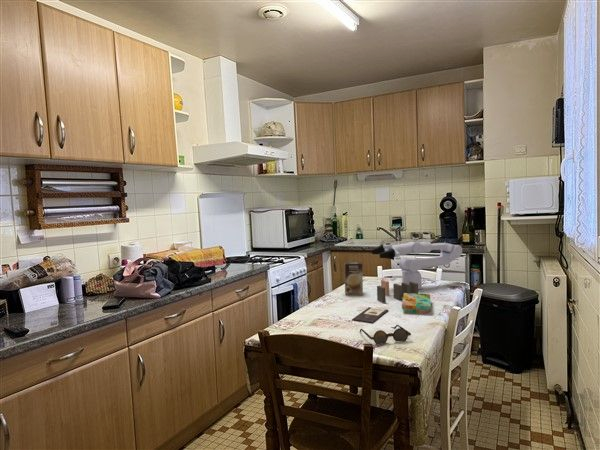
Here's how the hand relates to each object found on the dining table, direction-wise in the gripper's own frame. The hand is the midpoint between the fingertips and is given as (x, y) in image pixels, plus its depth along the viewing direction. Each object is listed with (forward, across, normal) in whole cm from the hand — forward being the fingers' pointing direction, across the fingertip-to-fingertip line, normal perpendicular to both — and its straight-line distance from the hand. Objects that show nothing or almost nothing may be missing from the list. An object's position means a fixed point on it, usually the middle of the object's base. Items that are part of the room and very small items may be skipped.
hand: (375, 253), depth 198 cm
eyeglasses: (+29, +54, +13) cm, 63 cm away
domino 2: (+7, +16, +18) cm, 25 cm away
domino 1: (-2, +6, +20) cm, 21 cm away
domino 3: (-2, +16, +19) cm, 25 cm away
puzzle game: (-2, +31, +18) cm, 36 cm away
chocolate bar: (+22, +32, +16) cm, 42 cm away
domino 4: (-7, +16, +19) cm, 26 cm away
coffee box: (+11, -3, +21) cm, 24 cm away
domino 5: (-11, +16, +19) cm, 28 cm away
